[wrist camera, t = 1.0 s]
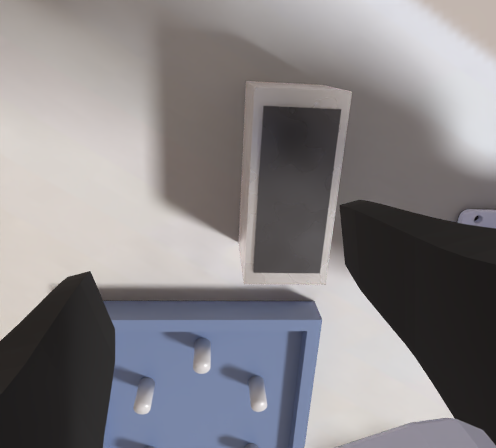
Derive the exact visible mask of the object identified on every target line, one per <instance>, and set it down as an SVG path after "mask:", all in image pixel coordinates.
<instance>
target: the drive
mask: <svg viewBox="0 0 496 448" xmlns="http://www.w3.org/2000/svg"><path fill="white" fill-rule="evenodd" d="M351 97H352V91H347V90H343V89H339V88H334V87H330V86H326V85H317V84H297V83H277V82H257V81H246V91H245V112H244V134H243V155H242V177H241V198H240V220H239V241H238V243H239V250H240V258H241V266H242V273H243V281H244V284H292V285H326V278H327V271H328V264H329V256H330V249H331V242H332V235H333V227H334V220H335V213H336V206H337V198H338V191H339V184H340V177H341V170H342V162H343V155H344V148H345V141H346V133H347V126H348V119H349V112H350V104H351Z"/></svg>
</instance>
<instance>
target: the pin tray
mask: <svg viewBox="0 0 496 448" xmlns="http://www.w3.org/2000/svg"><path fill="white" fill-rule="evenodd" d="M103 302H104V304H105V307H106V309H107V311H108V314H109V316H110V318H111V321H112V323H113V325H114V328H115V366H114V374H113V381H112V388H111V394H110V401H109V407H108V414H107V421H106V427H105V434H104V442H103V448H304V446H305V439H306V431H307V424H308V417H309V410H310V403H311V396H312V388H313V381H314V374H315V367H316V360H317V353H318V345H319V338H320V331H321V324H322V318H321V316H320V314H319V311H318V309H317V306H316V304H315V302H314V301H103Z"/></svg>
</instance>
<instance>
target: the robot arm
mask: <svg viewBox="0 0 496 448" xmlns="http://www.w3.org/2000/svg"><path fill="white" fill-rule="evenodd" d="M340 214H341V225H342V235H343V246H344V257H345V265H346V267H347V268H348V270H349V272H350V274H351V275H352V277H353V279H354V280H355V282H356V283H357V285H358V287H359V288H360V290H361V291H362V292H363V294H364V295H365V296H366V297H367V299H368V300H369V301H370V302H371V303H372V305H373V306H374V307H375V308H376V310H377V311H378V312H379V313H380V314H381V316H382V317H383V318H384V319H385V320H386V322H387V323H388V324H389V325H390V326H391V328H392V329H393V330H394V331H395V332H396V334H397V335H398V336H399V337H400V338H401V340H402V341H403V342H404V343H405V344H406V346H407V347H408V348H409V350H410V351H411V352H412V354H413V355H414V356H415V358H416V359H417V361H418V362H419V364H420V365H421V367H422V368H423V370H424V371H425V373H426V374H427V376H428V377H429V379H430V380H431V382H432V383H433V385H434V386H435V388H436V389H437V391H438V392H439V394H440V396H441V397H442V399H443V400H444V402H445V404H446V405H447V407H448V408H449V410H450V412H451V413H452V415H453V416H454V418H455V419H453V418H442V419H435V420H427V421H420V422H412V423H408V424H405V425H402V426H399V427H396V428H393V429H390V430H387V431H384V432H381V433H378V434H375V435H372V436H369V437H366V438H363V439H359V440H356V441H353V442H350V443H347V444H344V445H341V446H338V447H335V448H496V210H482V209H467V210H464V211H463V212H462V213H461V214H460V216H459V219H458V222H457V223H456V222H451V221H447V220H442V219H437V218H433V217H428V216H424V215H420V214H416V213H412V212H409V211H405V210H401V209H397V208H394V207H390V206H386V205H382V204H378V203H374V202H370V201H364V200H357V201H354V202H350V203H346V204H342V205H340ZM478 215H479V217H478V219H477V220H476V221H474V218H475V217H476V216H478ZM114 366H115V328H114V325H113V323H112V321H111V318H110V316H109V314H108V311H107V309H106V307H105V304H104V302H103V300H102V297H101V295H100V293H99V290H98V288H97V286H96V283H95V281H94V279H93V276H92V274H91V272H90V271H89V272H85V273H81V274H78V275H74V276H70V277H67V278H66V279H65V280H63V281H62V282H61V283H60V284H59V285H58V286H57V287H56V288H55V289H54V290H53V291H52V292H51V293H50V294H48V295H47V296H46V297H45V298H44V299H43V300H42V302H41V303H39V304H38V305H37V306H36V307H35V308H34V309H33V310H32V311H31V312H30V313H29V314H28V315H27V316H26V317H25V318H24V319H23V320H22V321H21V322H20V323H19V324H18V325H17V326H16V327H15V328H14V329H13V330H12V331H11V332H10V333H8V334H7V335H6V336H5V337H4V338H3V339H2V340H1V341H0V448H103V442H104V434H105V427H106V421H107V414H108V407H109V401H110V394H111V388H112V381H113V374H114Z"/></svg>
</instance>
